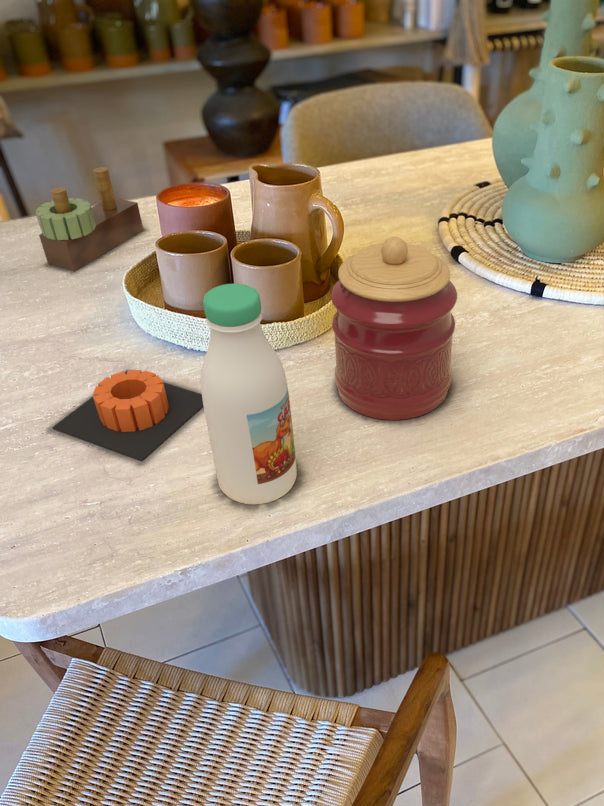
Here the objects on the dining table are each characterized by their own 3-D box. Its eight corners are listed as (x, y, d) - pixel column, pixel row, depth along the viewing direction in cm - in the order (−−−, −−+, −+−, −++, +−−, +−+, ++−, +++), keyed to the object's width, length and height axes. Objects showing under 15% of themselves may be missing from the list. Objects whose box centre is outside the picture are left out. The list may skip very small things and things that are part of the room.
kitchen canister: (449, 358, 91) (460, 212, 79) (450, 425, 82) (462, 270, 70) (341, 355, 92) (335, 209, 80) (329, 421, 82) (320, 267, 70)
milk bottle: (231, 516, 72) (195, 327, 58) (209, 467, 77) (172, 283, 63) (308, 493, 74) (292, 306, 60) (282, 447, 79) (261, 265, 65)
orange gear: (86, 420, 82) (78, 397, 80) (130, 386, 87) (124, 363, 85) (139, 439, 80) (132, 416, 78) (181, 402, 84) (176, 380, 82)
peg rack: (74, 272, 108) (54, 201, 101) (48, 265, 110) (26, 195, 103) (144, 231, 118) (129, 164, 111) (118, 225, 119) (102, 159, 112)
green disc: (31, 234, 107) (24, 213, 105) (68, 215, 111) (62, 194, 109) (70, 244, 104) (64, 222, 102) (106, 224, 109) (101, 203, 107)
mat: (53, 430, 82) (52, 427, 81) (127, 373, 89) (127, 370, 89) (142, 462, 78) (141, 459, 77) (212, 400, 85) (211, 397, 85)
